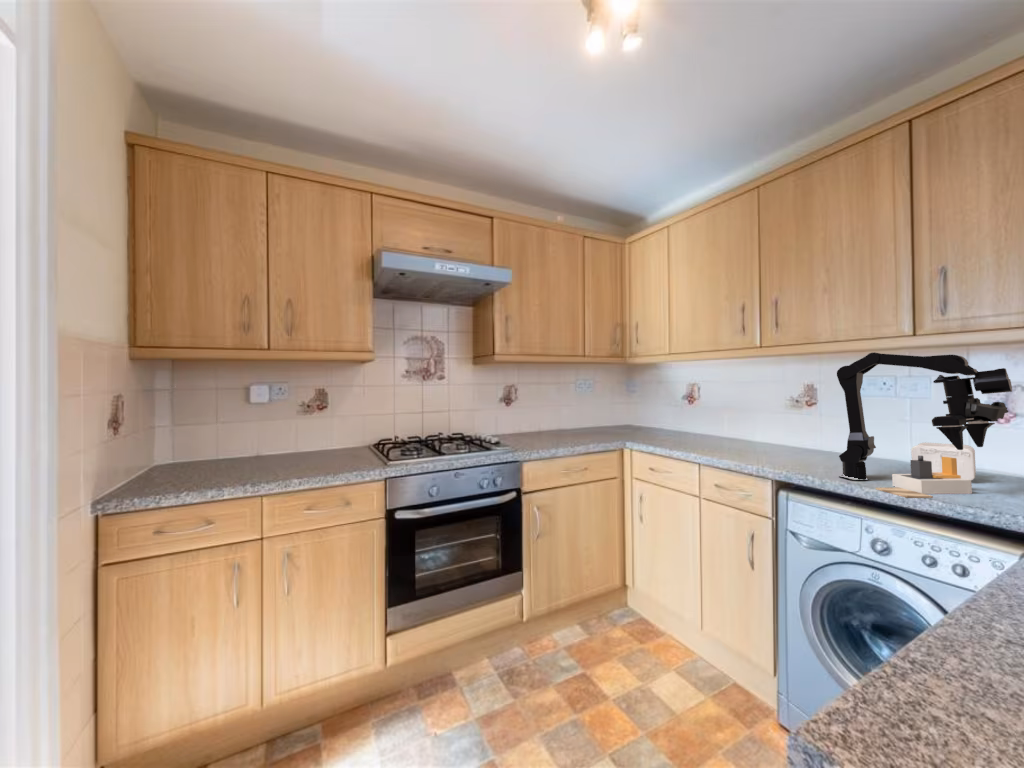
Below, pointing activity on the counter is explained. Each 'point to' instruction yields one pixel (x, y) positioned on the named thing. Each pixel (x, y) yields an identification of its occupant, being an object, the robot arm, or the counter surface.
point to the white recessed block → (933, 485)
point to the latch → (947, 469)
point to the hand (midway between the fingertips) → (970, 448)
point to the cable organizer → (940, 450)
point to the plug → (921, 469)
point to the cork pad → (904, 492)
